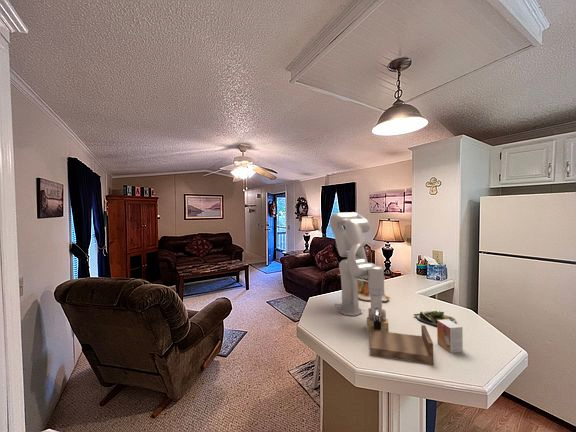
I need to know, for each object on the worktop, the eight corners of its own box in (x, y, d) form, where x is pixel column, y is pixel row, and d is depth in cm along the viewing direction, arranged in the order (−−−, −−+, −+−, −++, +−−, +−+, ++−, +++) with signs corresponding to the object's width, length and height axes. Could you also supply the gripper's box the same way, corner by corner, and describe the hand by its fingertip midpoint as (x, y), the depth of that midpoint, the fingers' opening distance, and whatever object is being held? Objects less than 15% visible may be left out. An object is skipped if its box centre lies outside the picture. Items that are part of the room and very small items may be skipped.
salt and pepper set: (366, 330, 123) (366, 310, 123) (367, 326, 127) (366, 307, 127) (388, 333, 119) (387, 312, 119) (388, 328, 124) (387, 309, 124)
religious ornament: (346, 295, 176) (346, 279, 176) (368, 291, 184) (367, 275, 184) (372, 307, 153) (371, 288, 153) (395, 301, 162) (394, 283, 162)
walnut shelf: (370, 354, 102) (369, 335, 102) (370, 336, 117) (370, 319, 117) (433, 364, 94) (433, 343, 94) (425, 343, 109) (425, 325, 109)
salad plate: (428, 310, 146) (428, 302, 146) (463, 321, 131) (462, 312, 131) (410, 319, 135) (410, 310, 135) (445, 331, 120) (445, 322, 120)
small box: (437, 343, 109) (436, 319, 109) (449, 342, 109) (448, 318, 109) (450, 353, 101) (449, 327, 101) (463, 352, 101) (462, 326, 101)
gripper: (368, 285, 133) (369, 317, 133) (367, 295, 116) (369, 332, 116) (383, 286, 130) (384, 318, 130) (385, 297, 114) (386, 334, 114)
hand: (377, 325), depth 123 cm, fingers open, 9 cm apart
